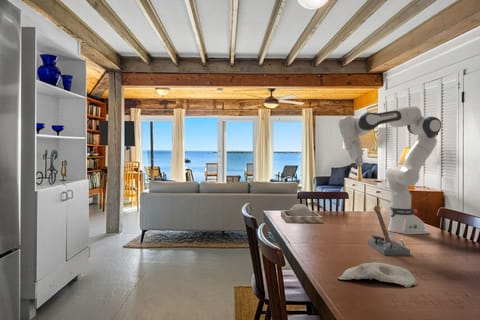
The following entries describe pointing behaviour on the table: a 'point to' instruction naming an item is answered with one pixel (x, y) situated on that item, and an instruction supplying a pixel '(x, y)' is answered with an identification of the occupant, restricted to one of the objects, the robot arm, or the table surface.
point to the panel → (388, 247)
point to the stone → (380, 273)
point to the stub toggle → (403, 244)
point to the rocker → (377, 237)
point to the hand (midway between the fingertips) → (360, 165)
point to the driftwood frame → (301, 218)
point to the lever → (382, 224)
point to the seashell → (300, 210)
